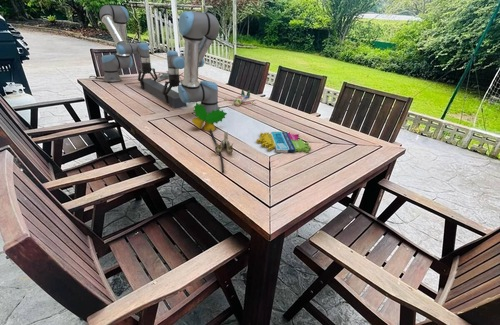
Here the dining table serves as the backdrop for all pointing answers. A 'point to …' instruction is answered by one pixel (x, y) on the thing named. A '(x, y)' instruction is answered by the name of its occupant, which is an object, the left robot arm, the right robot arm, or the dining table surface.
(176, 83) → the right robot arm
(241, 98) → the toy
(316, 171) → the dining table surface
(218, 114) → the ornament
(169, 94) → the wide beam
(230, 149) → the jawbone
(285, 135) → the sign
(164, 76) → the airplane
